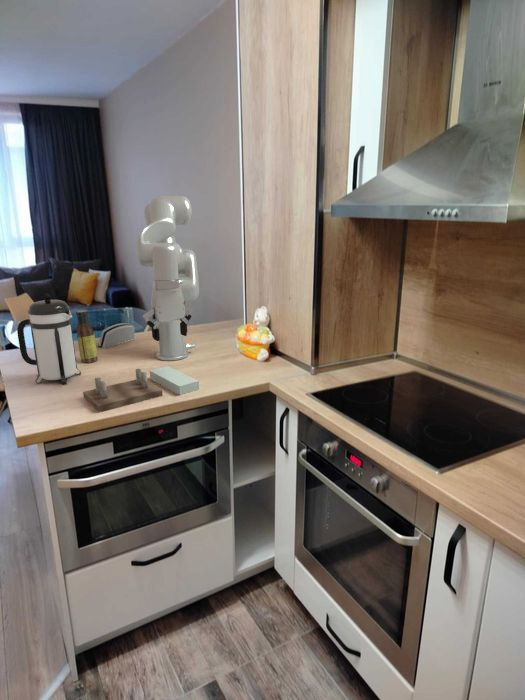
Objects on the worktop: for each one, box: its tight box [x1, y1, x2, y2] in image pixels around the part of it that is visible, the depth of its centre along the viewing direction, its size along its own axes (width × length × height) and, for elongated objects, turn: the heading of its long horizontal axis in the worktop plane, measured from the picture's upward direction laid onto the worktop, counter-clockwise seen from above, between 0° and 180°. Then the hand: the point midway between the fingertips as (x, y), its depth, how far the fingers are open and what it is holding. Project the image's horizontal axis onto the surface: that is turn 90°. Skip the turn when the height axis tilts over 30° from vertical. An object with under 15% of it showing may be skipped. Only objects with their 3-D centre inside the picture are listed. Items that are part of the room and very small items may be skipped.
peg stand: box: [82, 368, 163, 413], centre depth 145 cm, size 20×14×7 cm
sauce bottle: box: [75, 309, 99, 364], centre depth 178 cm, size 7×6×20 cm
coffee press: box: [16, 292, 82, 386], centre depth 157 cm, size 17×16×30 cm
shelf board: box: [149, 365, 200, 396], centre depth 156 cm, size 20×7×4 cm, turn 40°
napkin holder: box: [96, 322, 136, 349], centre depth 203 cm, size 17×5×10 cm, turn 146°
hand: (170, 337), depth 151 cm, fingers open, 9 cm apart
